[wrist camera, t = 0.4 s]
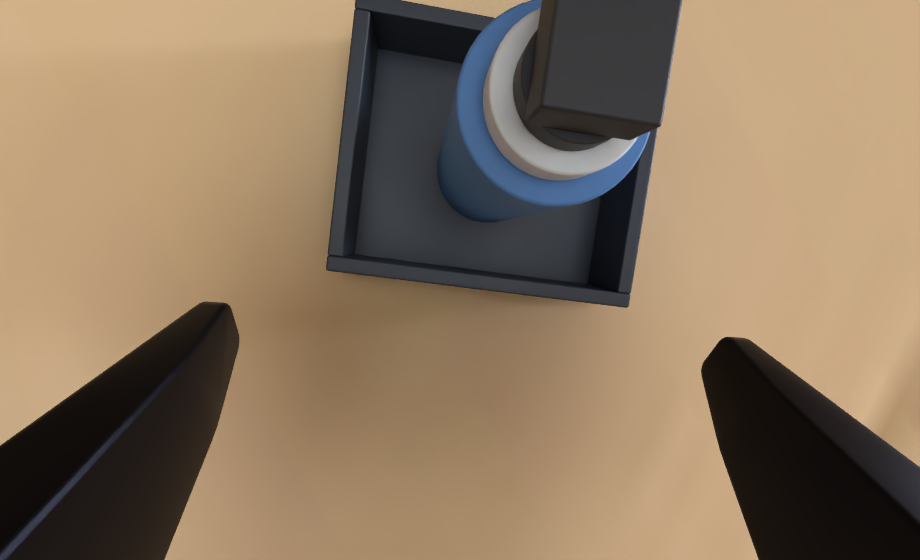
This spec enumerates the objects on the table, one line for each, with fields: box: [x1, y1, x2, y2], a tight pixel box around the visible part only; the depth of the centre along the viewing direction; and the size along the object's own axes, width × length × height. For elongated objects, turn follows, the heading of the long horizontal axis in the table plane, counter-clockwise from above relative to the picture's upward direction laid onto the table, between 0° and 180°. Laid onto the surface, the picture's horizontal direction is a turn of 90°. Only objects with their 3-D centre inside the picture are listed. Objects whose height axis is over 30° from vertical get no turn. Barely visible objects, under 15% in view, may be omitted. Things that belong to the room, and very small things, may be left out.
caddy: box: [326, 0, 658, 308], centre depth 20 cm, size 11×13×4 cm
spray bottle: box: [437, 0, 682, 222], centre depth 15 cm, size 5×5×14 cm
